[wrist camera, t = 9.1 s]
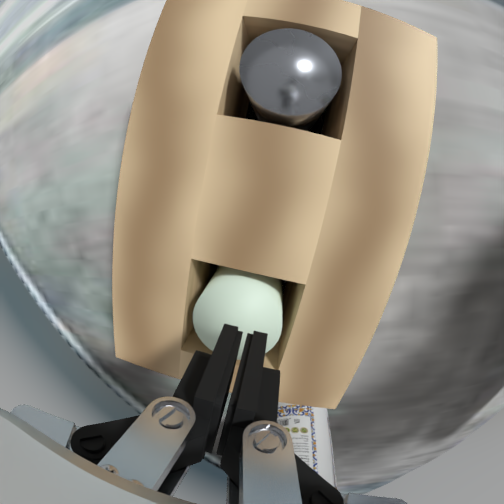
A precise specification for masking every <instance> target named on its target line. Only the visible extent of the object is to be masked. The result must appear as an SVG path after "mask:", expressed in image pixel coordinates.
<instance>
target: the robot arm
mask: <svg viewBox="0 0 504 504" xmlns="http://www.w3.org/2000/svg"><path fill="white" fill-rule="evenodd" d="M242 334H243V332H242V331H238V327H237V326H233V325H229V324H224V326H223V328H222V330H221V333H220V335H219V338H218V340H217V343H216V345H215V348H214V350H213V352H212V354H208V353H205V352H201V351H198V350H196V351H195V353H194V355H193V357H192V359H191V361H190V363H189V365H188V367H187V369H186V371H185V373H184V375H183V377H182V379H181V381H180V383H179V385H178V387H177V389H176V391H175V393H174V395H173V397H160V398H158V399H155V400H154V401H152V402H151V403H150V404H149V405H148V406H147V408H146V409H145V410H144V411H143V412H142V413H141V415H138V416H134V417H130V418H125V419H120V420H115V421H110V422H105V423H99V424H94V425H87V426H84V427H77V426H75V423H73V422H70V421H68V420H64V419H62V418H59V417H56V416H54V415H51V414H48V413H46V412H44V411H41V410H39V409H36V408H34V407H32V406H29V405H19V406H17V407H15V408H14V409H13V410H12V411H11V412H10V413H9V412H8V411H6V410H3V409H1V408H0V504H196V503H192V502H188V501H185V500H182V499H178V498H175V497H173V495H174V494H175V492H176V490H177V489H178V487H179V485H180V484H181V482H182V480H183V479H184V477H185V475H186V474H187V472H188V470H189V468H190V465H193V464H195V463H198V462H201V460H202V459H204V455H205V452H209V453H212V449H213V446H214V443H215V439H216V436H217V432H218V429H219V425H220V422H221V418H222V415H223V411H224V407H225V404H226V400H227V397H228V393H229V390H230V386H231V382H232V378H233V373H234V369H235V365H236V360H237V356H238V352H239V347H240V343H241V339H242ZM267 336H268V334H267V333H263V332H258V331H254V332H253V334H250V333H247V337H246V341H245V345H244V348H243V352H242V356H241V360H240V364H239V368H238V372H237V375H236V379H235V383H234V387H233V391H232V394H231V398H230V402H229V406H228V410H227V414H226V418H225V422H224V426H223V430H222V434H221V438H220V442H219V446H218V450H217V455H222V459H221V465H220V467H221V468H222V469H223V470H224V471H225V473H226V474H227V475H228V477H227V499H226V504H407V503H406V502H405V501H403V500H401V499H397V498H386V497H376V496H368V495H361V494H355V493H348V494H341V493H340V492H339V491H338V490H337V489H336V488H335V487H333V486H332V485H331V484H330V483H328V482H327V481H326V480H325V479H323V478H322V477H321V476H320V475H319V474H318V473H316V472H315V471H314V470H313V469H312V468H311V467H309V466H308V465H307V464H306V463H305V462H304V461H303V460H301V459H300V458H299V457H298V456H297V455H296V454H295V453H294V448H293V442H292V438H291V435H290V433H289V432H288V431H287V429H286V428H284V427H283V426H282V425H280V424H278V423H277V414H278V401H279V387H280V370H276V369H271V368H266V367H263V365H264V358H265V351H266V344H267Z"/></svg>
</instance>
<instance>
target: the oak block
mask: <svg viewBox="0 0 504 504" xmlns="http://www.w3.org/2000/svg"><path fill="white" fill-rule="evenodd" d="M283 28H293V29H300V30H304V31H307V32H310V33H312V34H314V35H316V36H318V37H320V38H321V39H323V40H324V41H325V42H326V43H327V44H328V45H329V46H330V47H331V48H332V49H333V50H334V52H335V53H336V55H337V57H338V59H339V62H340V65H341V70H342V79H341V84H340V87H339V89H338V91H337V93H336V95H335V96H334V97H333V99H332V100H331V102H330V103H329V104H328V106H327V107H326V112H325V117H324V123H323V128H322V133H321V135H320V134H316V133H312V132H308V131H304V130H300V129H295V128H291V127H286V126H281V125H277V124H272V123H266V122H261V121H256V120H250V119H246V115H247V111H248V106H249V102H250V100H249V98H248V95H247V93H246V91H245V89H244V86H243V84H242V82H241V78H240V73H239V65H240V60H241V57H242V54H243V52H244V50H245V49H246V47H247V46H248V45H249V44H250V43H251V42H252V41H253V40H254V39H255V38H257V37H258V36H260V35H262V34H264V33H266V32H269V31H272V30H276V29H283ZM436 85H437V38H436V37H435V36H433V35H431V34H429V33H427V32H425V31H423V30H421V29H418V28H416V27H414V26H412V25H410V24H408V23H405V22H403V21H401V20H398V19H396V18H393V17H391V16H388V15H386V14H383V13H380V12H378V11H375V10H372V9H369V8H366V7H363V6H360V5H357V4H353V3H350V2H346V1H343V0H167V1H166V3H165V5H164V8H163V10H162V13H161V15H160V18H159V20H158V23H157V26H156V28H155V31H154V34H153V37H152V39H151V42H150V45H149V48H148V51H147V55H146V58H145V61H144V64H143V68H142V71H141V74H140V78H139V82H138V85H137V89H136V93H135V97H134V101H133V105H132V110H131V114H130V119H129V123H128V128H127V133H126V139H125V144H124V150H123V156H122V162H121V169H120V176H119V184H118V192H117V201H116V212H115V224H114V240H113V268H112V297H113V325H114V340H115V352H116V357H118V358H120V359H123V360H125V361H128V362H131V363H133V364H136V365H139V366H141V367H144V368H147V369H150V370H153V371H156V372H159V373H162V374H165V375H168V376H171V377H174V378H178V379H182V377H183V375H184V373H185V371H186V369H187V367H188V365H189V363H190V361H191V359H192V357H193V355H194V353H195V351H196V350H198V351H201V352H205V353H208V354H212V352H213V351H212V350H210V349H209V348H208V347H207V346H206V345H205V344H204V343H203V342H202V341H201V340H200V338H199V337H198V335H197V333H196V331H195V328H194V324H193V311H194V307H195V304H196V302H197V301H198V299H199V297H200V296H201V294H202V293H203V291H204V289H205V288H206V286H207V285H208V283H209V282H210V280H211V278H212V277H213V275H214V274H215V272H216V269H217V265H220V266H225V267H229V268H233V269H238V270H242V271H247V272H251V273H255V274H260V275H264V276H269V277H273V278H278V279H282V280H287V282H286V285H285V289H284V293H283V296H282V331H281V335H280V338H279V340H278V341H277V343H276V344H275V345H274V347H273V348H272V349H271V350H269V351H268V352H267V353H265V358H264V365H263V367H266V368H271V369H276V370H280V387H279V401H278V402H282V403H288V404H295V405H302V406H310V407H319V408H329V409H336V407H337V405H338V404H339V402H340V400H341V398H342V397H343V395H344V393H345V391H346V389H347V388H348V386H349V384H350V382H351V380H352V378H353V376H354V374H355V372H356V370H357V368H358V367H359V365H360V363H361V361H362V358H363V356H364V354H365V352H366V350H367V348H368V346H369V344H370V342H371V339H372V337H373V335H374V333H375V330H376V328H377V326H378V324H379V321H380V319H381V316H382V314H383V312H384V309H385V307H386V304H387V302H388V299H389V297H390V294H391V291H392V289H393V286H394V283H395V280H396V278H397V275H398V272H399V269H400V266H401V263H402V260H403V257H404V254H405V251H406V247H407V244H408V241H409V237H410V234H411V231H412V227H413V223H414V220H415V216H416V212H417V208H418V204H419V200H420V196H421V191H422V187H423V182H424V177H425V172H426V167H427V161H428V156H429V149H430V143H431V136H432V129H433V120H434V111H435V100H436ZM239 364H240V360H236V365H235V369H234V373H233V378H232V382H231V386H230V390H229V392H230V393H232V391H233V387H234V383H235V379H236V375H237V372H238V368H239Z"/></svg>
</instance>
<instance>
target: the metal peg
mask: <svg viewBox="0 0 504 504" xmlns="http://www.w3.org/2000/svg"><path fill="white" fill-rule="evenodd" d="M239 73H240V78H241V82H242V84H243V86H244V89H245V91H246V93H247V95H248V98H249V100H250V102H251V104H252V107H253V109H254V111H255V114H256V116H257V118H258V120H259V121H261V122H266V123H272V124H277V125H281V126H286V127H291V128H295V129H300V130H304V131H309V130H310V129H311V128H312V127H313V126H314V124H315V123H316V121H317V120H318V119H319V117H320V116H321V114H322V113H323V112H324V110H325V109H326V107H327V106H328V104H329V103H330V102H331V100H332V99H333V97H334V96H335V95H336V93H337V91H338V89H339V87H340V84H341V79H342V70H341V65H340V62H339V59H338V57H337V55H336V53H335V52H334V50H333V49H332V48H331V47H330V46H329V45H328V44H327V43H326V42H325V41H324V40H323V39H321V38H320V37H318V36H316V35H314V34H312V33H310V32H307V31H304V30H300V29H293V28H283V29H276V30H272V31H269V32H266V33H264V34H262V35H260V36H258V37H257V38H255V39H254V40H253V41H252V42H251V43H250V44H249V45H248V46H247V47H246V49H245V50H244V52H243V54H242V57H241V60H240V65H239Z"/></svg>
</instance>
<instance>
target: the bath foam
mask: <svg viewBox="0 0 504 504" xmlns="http://www.w3.org/2000/svg"><path fill="white" fill-rule="evenodd" d="M277 423H278V424H280V425H282V426H283V427H284V428H286V429H287V431H288V432H289V433H290V435H291V438H292V442H293V448H294V453H295V454H296V455H297V456H298V457H299V458H300V459H301V460H303V461H304V462H305V463H306V464H307V465H308V466H309V467H311V468H312V469H313V470H314V471H315V472H316V473H318V474H319V475H320V476H321V477H322V478H323V479H325V480H326V481H327V482H328V483H330V484H331V485H332V486H333V487H335V488H336V489H337V484H336V474H335V465H334V456H333V448H332V440H331V432H330V424H329V418H328V411H327V408H319V407H310V406H302V405H295V404H288V403H282V402H278V414H277Z"/></svg>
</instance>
